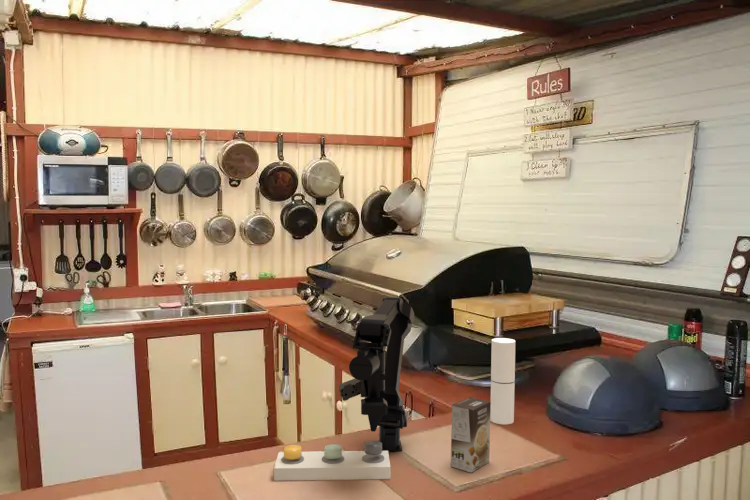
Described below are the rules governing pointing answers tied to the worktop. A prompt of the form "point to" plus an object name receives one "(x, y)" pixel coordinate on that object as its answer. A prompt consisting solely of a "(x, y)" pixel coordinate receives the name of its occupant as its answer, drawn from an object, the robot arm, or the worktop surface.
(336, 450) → the button sage
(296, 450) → the button amber
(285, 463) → the button panel
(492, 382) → the cylindrical container
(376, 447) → the button charcoal
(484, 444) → the coffee box
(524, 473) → the worktop surface
